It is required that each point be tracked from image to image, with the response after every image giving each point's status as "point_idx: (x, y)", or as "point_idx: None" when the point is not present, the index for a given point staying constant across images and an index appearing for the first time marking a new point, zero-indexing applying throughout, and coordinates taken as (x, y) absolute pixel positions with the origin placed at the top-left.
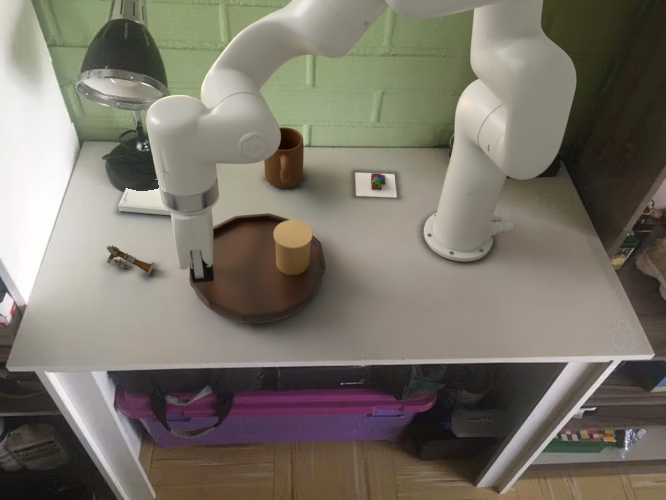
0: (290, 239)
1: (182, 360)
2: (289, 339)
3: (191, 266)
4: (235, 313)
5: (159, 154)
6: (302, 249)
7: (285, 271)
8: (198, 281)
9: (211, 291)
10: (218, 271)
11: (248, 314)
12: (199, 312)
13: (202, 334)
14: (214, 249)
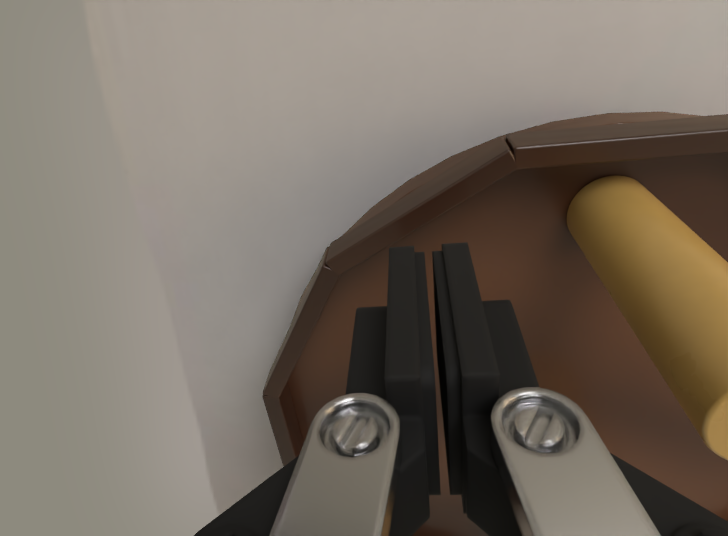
0: None
1: (105, 92)
2: (263, 432)
3: (301, 458)
4: (275, 365)
5: None
6: None
7: None
8: (356, 310)
9: (441, 245)
10: (577, 272)
11: (272, 408)
12: (379, 149)
13: (255, 171)
14: None
